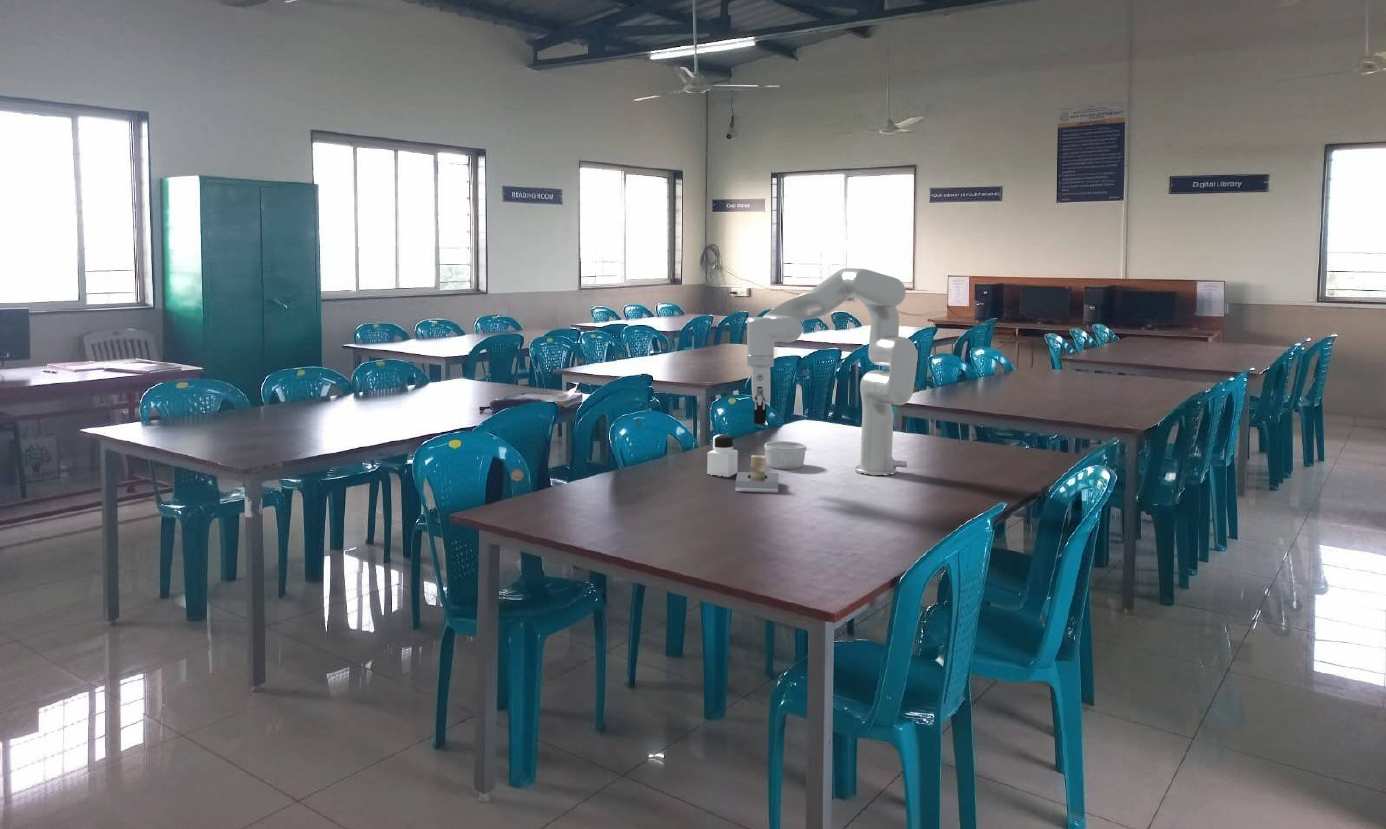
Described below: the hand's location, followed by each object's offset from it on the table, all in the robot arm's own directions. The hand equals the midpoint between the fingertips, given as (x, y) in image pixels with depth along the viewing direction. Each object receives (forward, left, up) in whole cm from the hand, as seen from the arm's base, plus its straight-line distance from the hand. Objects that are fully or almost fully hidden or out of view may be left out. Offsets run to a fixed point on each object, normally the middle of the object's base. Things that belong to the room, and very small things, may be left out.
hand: (760, 420), depth 294 cm
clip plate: (0, 0, -19) cm, 19 cm away
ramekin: (-8, -31, -20) cm, 37 cm away
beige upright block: (0, 0, -18) cm, 18 cm away
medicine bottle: (+11, -16, -20) cm, 28 cm away
